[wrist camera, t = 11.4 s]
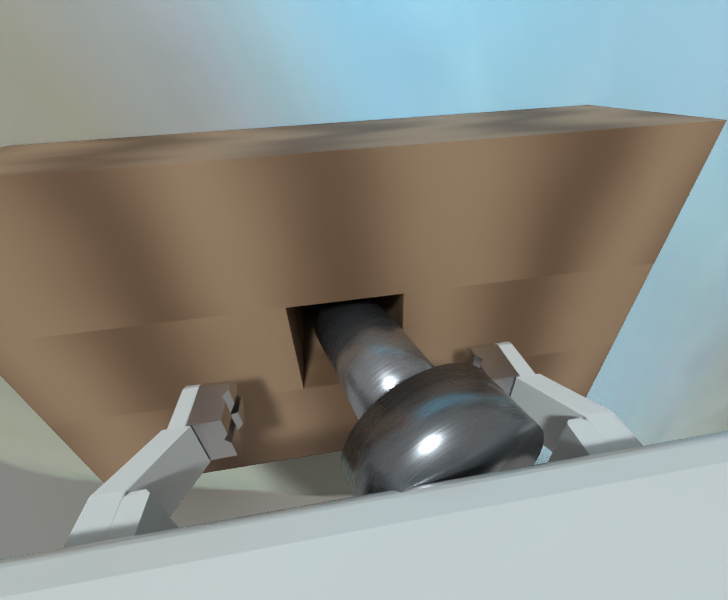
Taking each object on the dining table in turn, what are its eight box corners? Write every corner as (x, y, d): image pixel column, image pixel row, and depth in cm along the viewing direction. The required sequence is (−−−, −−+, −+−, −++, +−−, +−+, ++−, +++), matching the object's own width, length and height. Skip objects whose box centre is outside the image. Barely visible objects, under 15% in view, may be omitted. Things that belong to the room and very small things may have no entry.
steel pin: (401, 255, 14) (567, 392, 8) (398, 346, 16) (519, 498, 10) (279, 285, 12) (370, 487, 6) (300, 380, 15) (375, 581, 9)
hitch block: (588, 105, 15) (726, 119, 10) (519, 339, 23) (578, 411, 18) (8, 145, 13) (-178, 191, 8) (155, 390, 21) (109, 488, 16)
